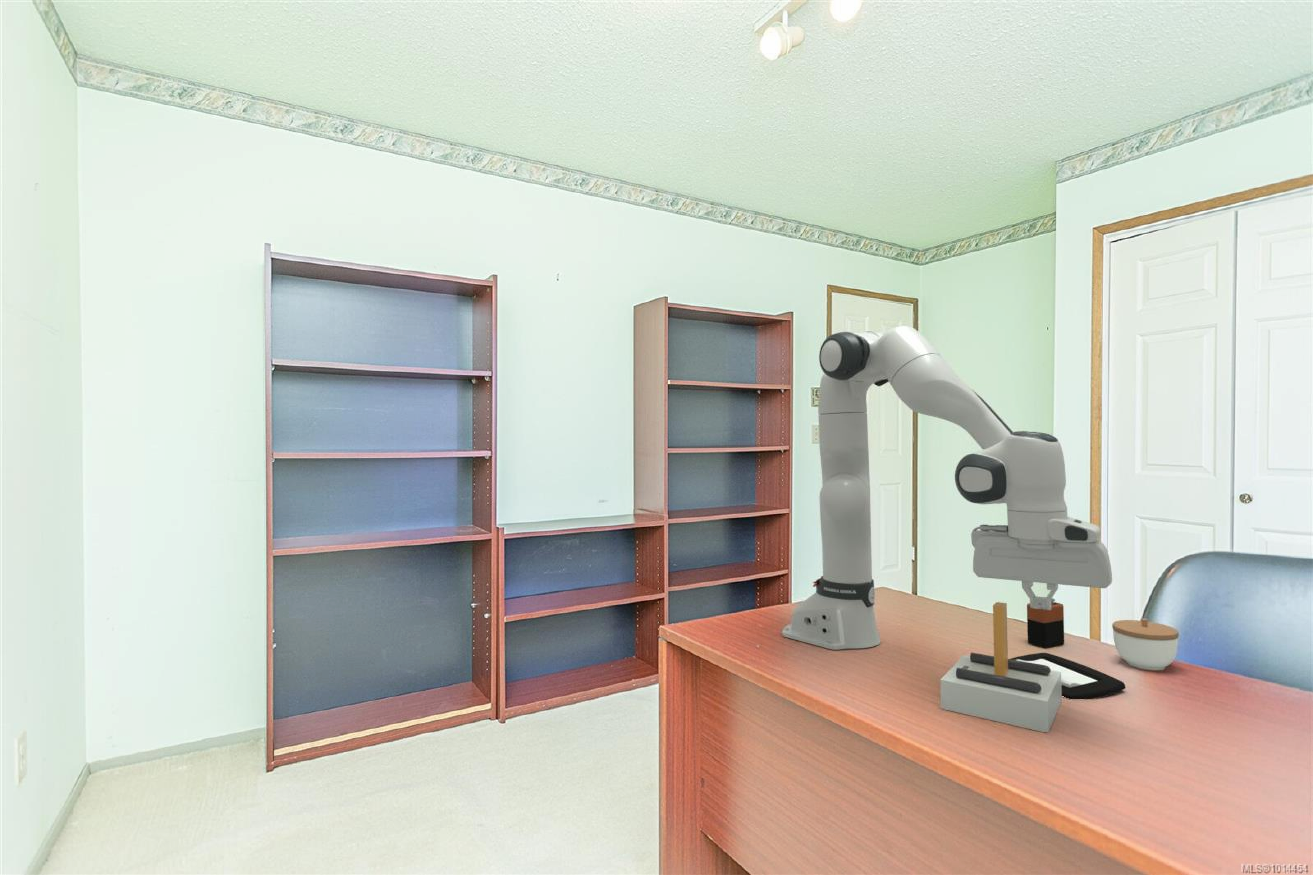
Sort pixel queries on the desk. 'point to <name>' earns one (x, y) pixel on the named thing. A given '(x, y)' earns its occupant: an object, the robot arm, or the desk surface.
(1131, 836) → the desk surface
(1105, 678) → the black picture frame
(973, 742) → the desk surface
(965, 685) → the box
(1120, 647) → the lidded jar
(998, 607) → the lever
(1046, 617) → the battery
